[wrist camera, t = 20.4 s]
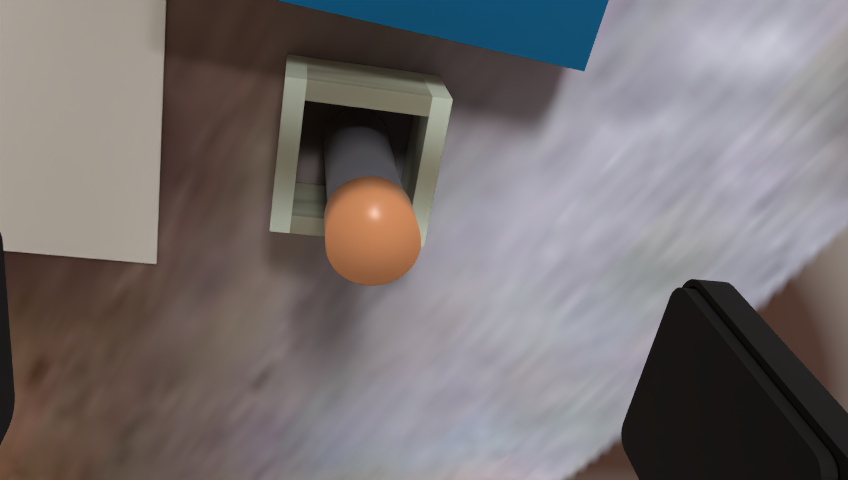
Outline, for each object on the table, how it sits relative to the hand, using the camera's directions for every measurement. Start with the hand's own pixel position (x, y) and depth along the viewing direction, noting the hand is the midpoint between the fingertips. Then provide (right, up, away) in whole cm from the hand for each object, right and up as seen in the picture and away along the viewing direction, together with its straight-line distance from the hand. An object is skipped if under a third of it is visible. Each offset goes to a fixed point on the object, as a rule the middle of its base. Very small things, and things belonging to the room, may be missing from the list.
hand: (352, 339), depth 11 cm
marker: (-2, +6, +23) cm, 24 cm away
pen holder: (-2, +6, +23) cm, 24 cm away
